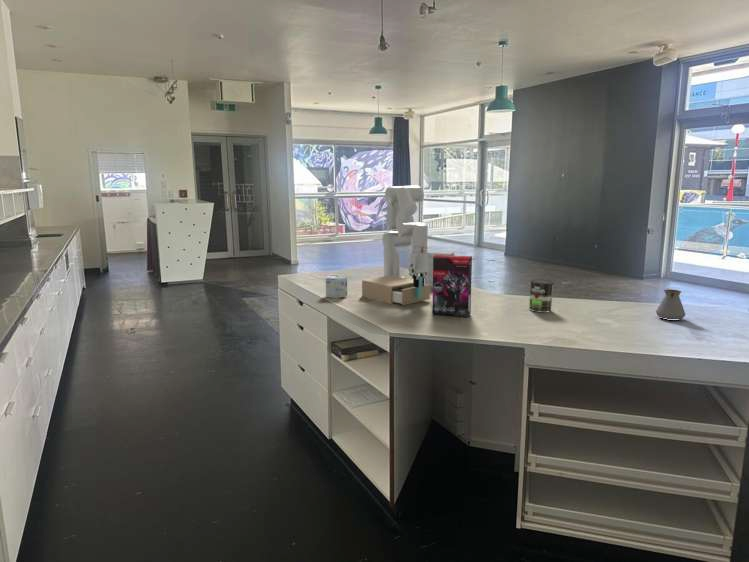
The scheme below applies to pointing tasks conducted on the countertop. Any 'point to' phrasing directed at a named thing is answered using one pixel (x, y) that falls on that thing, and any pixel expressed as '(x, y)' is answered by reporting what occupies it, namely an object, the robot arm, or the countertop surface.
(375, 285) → the sleeve
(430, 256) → the hard drive box
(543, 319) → the countertop surface
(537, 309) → the coffee can
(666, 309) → the coffee pot
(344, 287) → the light bulb box
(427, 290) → the drawer with teal handle
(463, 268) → the graphics card box
